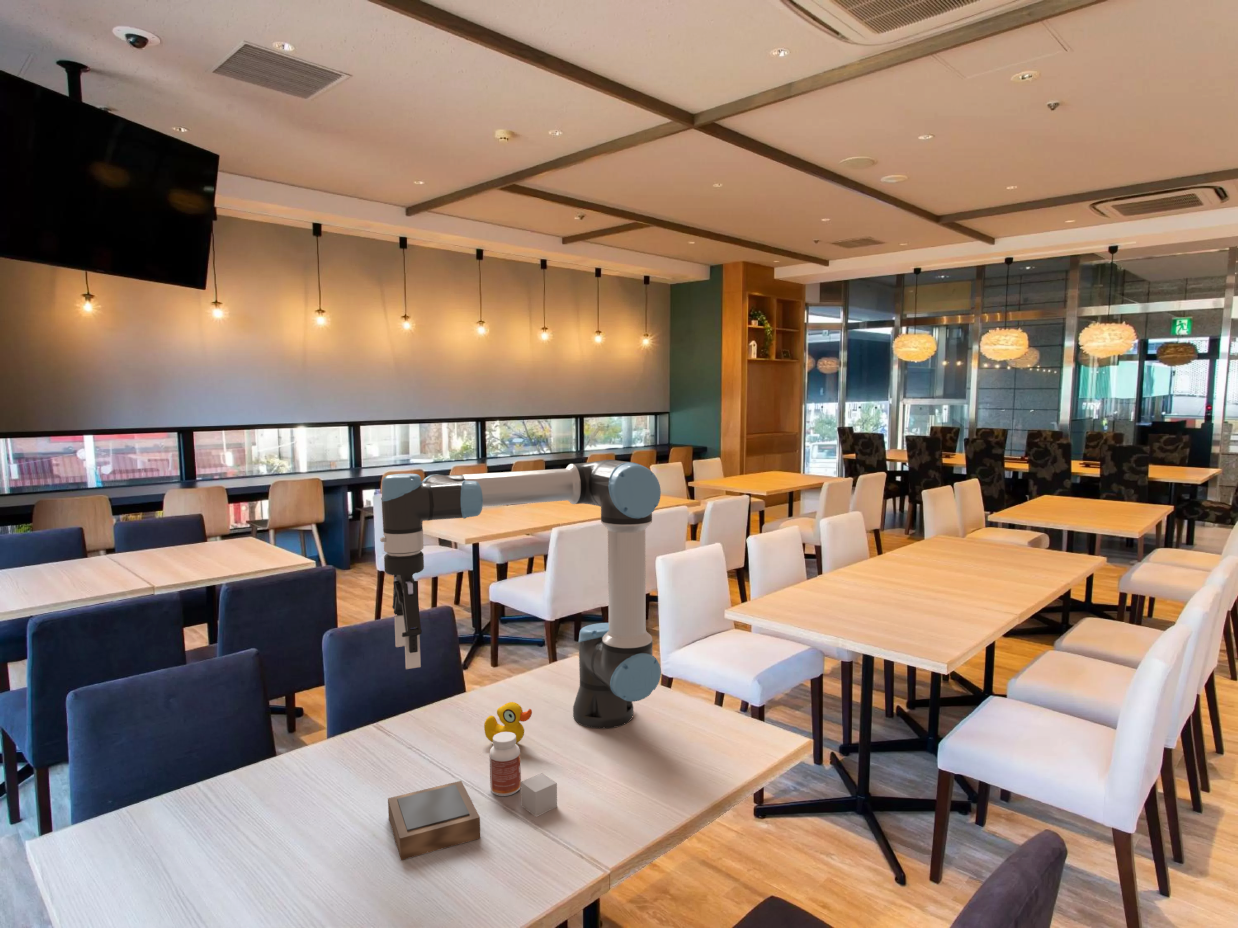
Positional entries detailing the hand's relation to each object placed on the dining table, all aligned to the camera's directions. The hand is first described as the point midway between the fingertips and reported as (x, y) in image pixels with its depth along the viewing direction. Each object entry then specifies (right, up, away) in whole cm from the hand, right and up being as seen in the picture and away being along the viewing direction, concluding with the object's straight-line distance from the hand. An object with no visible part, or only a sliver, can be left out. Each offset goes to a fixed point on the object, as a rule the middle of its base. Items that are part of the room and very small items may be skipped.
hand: (407, 656), depth 145 cm
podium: (+8, -29, -11) cm, 32 cm away
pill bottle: (+19, -28, +2) cm, 34 cm away
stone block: (+27, -28, -4) cm, 39 cm away
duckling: (+17, -26, +21) cm, 38 cm away
